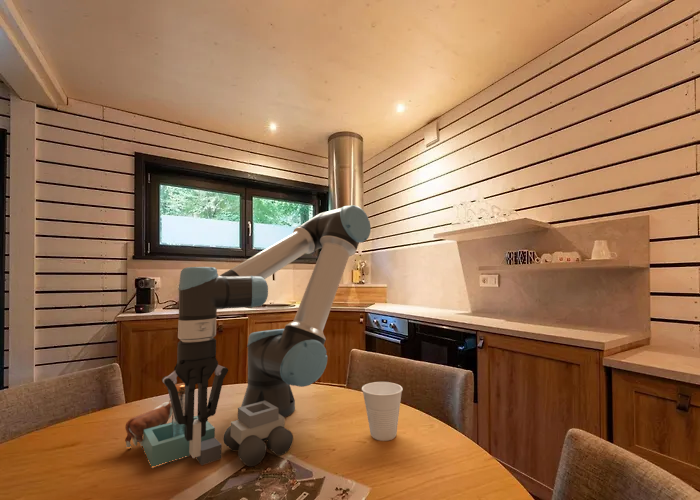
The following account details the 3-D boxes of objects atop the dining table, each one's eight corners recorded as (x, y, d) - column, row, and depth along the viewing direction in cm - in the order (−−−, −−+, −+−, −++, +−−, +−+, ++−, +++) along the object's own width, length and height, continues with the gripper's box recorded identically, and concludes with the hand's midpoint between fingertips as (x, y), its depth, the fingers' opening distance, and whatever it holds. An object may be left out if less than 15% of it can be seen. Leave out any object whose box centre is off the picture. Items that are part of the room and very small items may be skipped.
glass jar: (167, 444, 75) (169, 385, 76) (185, 439, 77) (187, 382, 78) (171, 451, 72) (173, 389, 73) (189, 445, 74) (191, 385, 76)
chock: (195, 458, 71) (195, 443, 71) (214, 451, 73) (214, 437, 74) (201, 466, 67) (201, 450, 68) (221, 459, 70) (221, 444, 70)
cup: (403, 447, 73) (401, 395, 74) (359, 444, 75) (358, 393, 76) (405, 427, 82) (403, 382, 84) (366, 425, 84) (365, 380, 86)
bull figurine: (184, 430, 84) (185, 397, 85) (129, 455, 72) (130, 416, 73) (173, 427, 86) (174, 395, 87) (117, 451, 74) (119, 413, 75)
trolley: (242, 470, 65) (243, 422, 66) (223, 450, 73) (223, 407, 74) (292, 450, 73) (292, 407, 73) (270, 433, 81) (270, 395, 82)
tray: (142, 449, 74) (143, 429, 75) (200, 432, 82) (201, 414, 83) (151, 468, 66) (152, 446, 67) (214, 447, 74) (214, 427, 75)
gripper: (167, 345, 64) (163, 474, 62) (233, 336, 72) (232, 450, 70) (159, 340, 69) (155, 458, 67) (221, 333, 78) (220, 438, 76)
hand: (194, 454), depth 69 cm, fingers closed
